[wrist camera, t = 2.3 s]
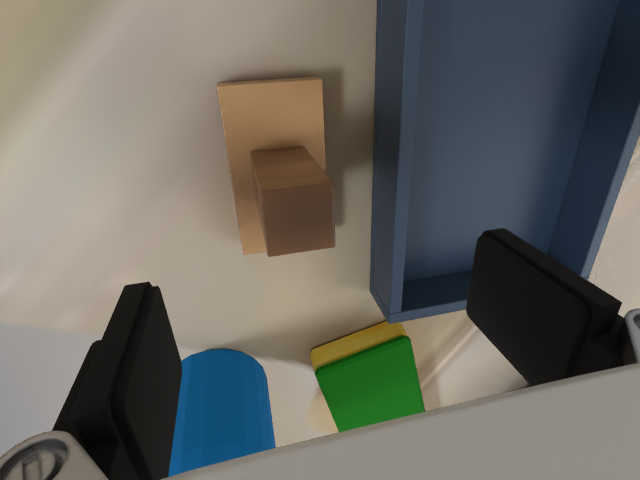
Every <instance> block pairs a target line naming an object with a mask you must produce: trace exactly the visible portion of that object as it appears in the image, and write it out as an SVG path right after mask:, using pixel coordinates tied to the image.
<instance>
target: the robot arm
mask: <svg viewBox="0 0 640 480" xmlns="http://www.w3.org/2000/svg"><path fill="white" fill-rule="evenodd" d="M621 304H622V302H620V301H619V300H617V299H616V298H614V297H613V296H611V295H609V294H608V293H606V292H605V291H603V290H602V289H600V288H598V287H597V286H595V285H594V284H592V283H590V282H589V281H587V280H586V279H584V278H583V277H581V276H579V275H578V274H576V273H575V272H573V271H572V270H570V269H568V268H567V267H565V266H564V265H562V264H561V263H559V262H557V261H556V260H554V259H553V258H551V257H550V256H548V255H546V254H545V253H543V252H542V251H540V250H538V249H537V248H535V247H534V246H532V245H531V244H529V243H527V242H526V241H524V240H523V239H521V238H520V237H518V236H516V235H515V234H513V233H512V232H510V231H509V230H507V229H505V228H499V229H492V230H486V231H484V232H483V233H482V235H481V236H480V237H478V239H477V243H476V249H475V255H474V261H473V267H472V274H471V280H470V286H469V292H468V298H467V304H466V311H467V314H468V317H469V318H470V319H471V320H472V321H473V323H474V324H475V325H476V326H477V327H478V328H479V329H480V330H481V331H482V332H483V334H484V335H485V336H486V337H487V338H488V339H489V340H490V341H491V342H492V343H493V344H494V346H495V347H496V348H497V349H498V350H499V351H500V352H501V353H502V354H503V355H504V357H505V358H506V359H507V360H508V361H509V362H510V363H511V364H512V365H513V366H514V367H515V369H516V370H517V371H518V372H519V373H520V374H521V375H522V376H523V377H524V378H525V380H526V381H527V382H528V383H529V384H530V385H531V386H532V387H528V388H523V389H519V390H515V391H510V392H506V393H502V394H497V395H493V396H489V397H485V398H480V399H476V400H472V401H468V402H464V403H459V404H455V405H451V406H447V407H442V408H438V409H434V410H430V411H426V412H422V413H417V414H413V415H409V416H405V417H401V418H396V419H392V420H388V421H384V422H380V423H376V424H372V425H367V426H363V427H359V428H355V429H351V430H347V431H343V432H339V433H335V434H331V435H327V436H322V437H318V438H314V439H310V440H306V441H302V442H298V443H294V444H290V445H286V446H282V447H277V448H273V449H269V450H266V451H262V452H258V453H254V454H250V455H246V456H243V457H239V458H235V459H231V460H227V461H224V462H220V463H216V464H212V465H208V466H204V467H201V468H197V469H194V470H190V471H187V472H184V473H180V474H177V475H174V476H171V477H168V475H169V468H170V460H171V453H172V445H173V438H174V431H175V423H176V416H177V408H178V401H179V393H180V386H181V379H182V364H181V359H180V356H179V352H178V349H177V345H176V342H175V339H174V335H173V332H172V328H171V325H170V322H169V318H168V315H167V311H166V308H165V304H164V301H163V298H162V294H161V291H160V288H159V287H158V286H154V287H152V285H151V284H150V283H149V282H144V283H138V284H131V285H126V286H125V287H124V289H123V291H122V293H121V296H120V298H119V300H118V303H117V305H116V307H115V310H114V312H113V314H112V317H111V319H110V321H109V324H108V326H107V328H106V331H105V333H104V335H103V338H102V340H98V341H95V342H94V343H93V344H92V345H91V347H90V349H89V351H88V353H87V355H86V358H85V360H84V362H83V364H82V366H81V369H80V370H79V373H78V375H77V377H76V379H75V382H74V384H73V386H72V388H71V390H70V393H69V395H68V397H67V399H66V401H65V403H64V406H63V408H62V410H61V412H60V414H59V416H58V419H57V421H56V423H55V425H54V427H53V430H52V431H50V432H43V433H41V434H38V435H35V436H32V437H30V438H28V439H26V440H24V441H23V442H21V443H19V444H17V445H15V446H14V447H13V448H11V449H10V450H9V451H8V452H6V453H5V454H4V455H2V456H1V457H0V480H640V309H634V310H630V311H629V312H628V313H627V314H626V315H625V317H624V318H623V317H621V316H620V315H618V312H619V309H620V307H621Z"/></svg>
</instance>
